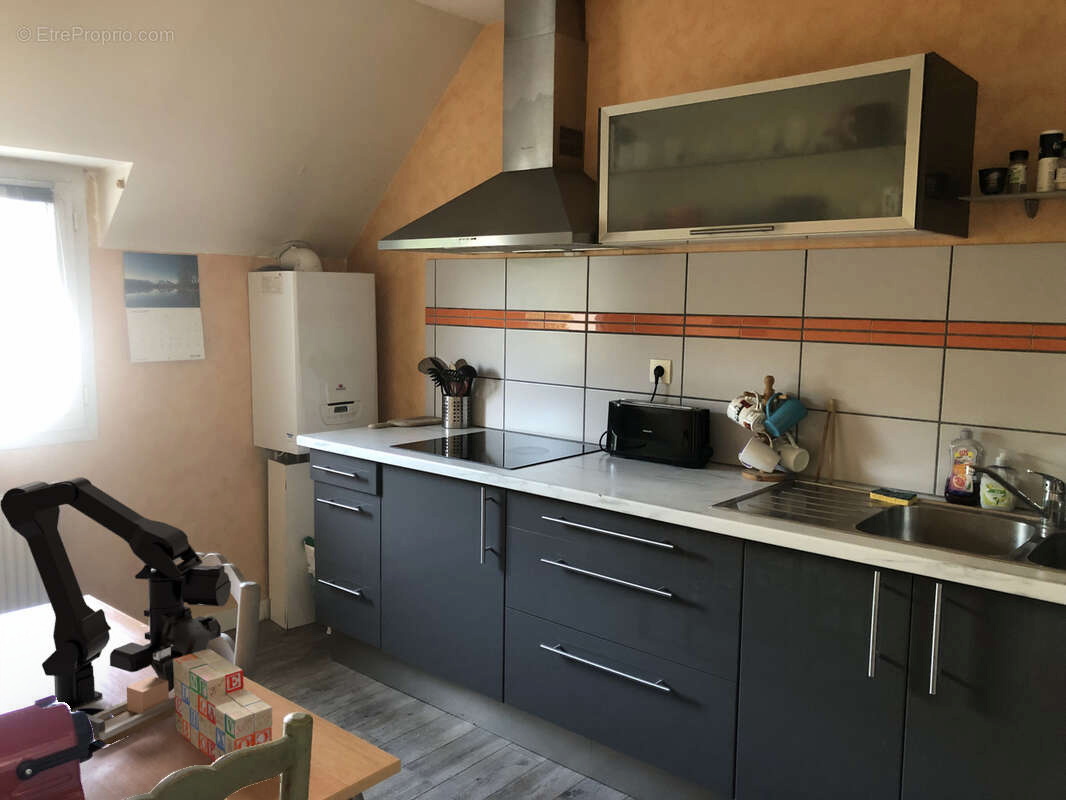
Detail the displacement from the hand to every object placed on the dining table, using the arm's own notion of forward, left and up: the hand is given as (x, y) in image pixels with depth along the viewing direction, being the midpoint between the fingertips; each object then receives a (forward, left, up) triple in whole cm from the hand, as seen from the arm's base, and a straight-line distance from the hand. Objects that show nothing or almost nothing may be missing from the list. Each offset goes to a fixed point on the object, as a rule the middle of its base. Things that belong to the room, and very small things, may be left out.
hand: (169, 690), depth 148 cm
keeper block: (0, -4, -1) cm, 4 cm away
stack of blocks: (+19, -5, -3) cm, 20 cm away
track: (0, -7, -3) cm, 7 cm away
